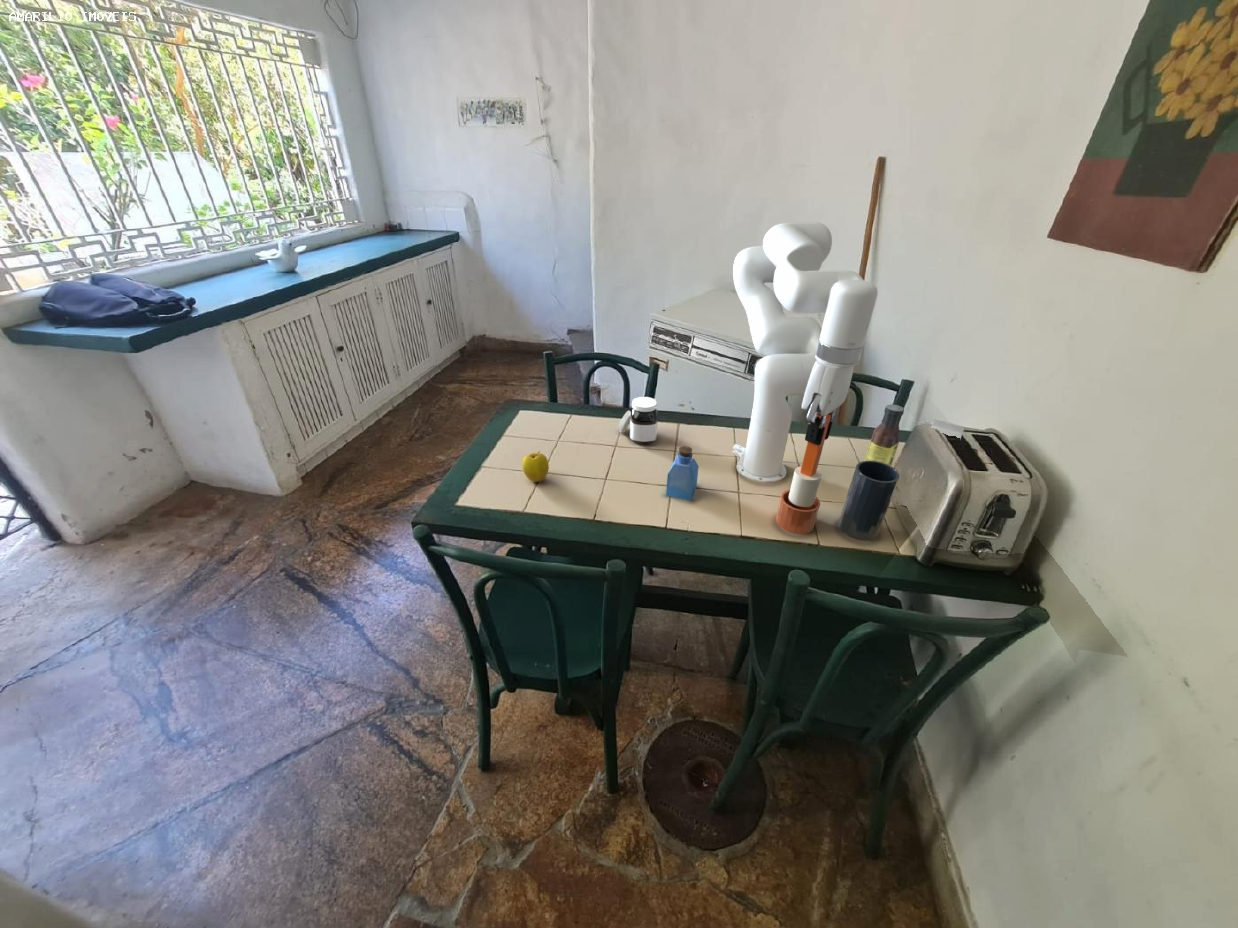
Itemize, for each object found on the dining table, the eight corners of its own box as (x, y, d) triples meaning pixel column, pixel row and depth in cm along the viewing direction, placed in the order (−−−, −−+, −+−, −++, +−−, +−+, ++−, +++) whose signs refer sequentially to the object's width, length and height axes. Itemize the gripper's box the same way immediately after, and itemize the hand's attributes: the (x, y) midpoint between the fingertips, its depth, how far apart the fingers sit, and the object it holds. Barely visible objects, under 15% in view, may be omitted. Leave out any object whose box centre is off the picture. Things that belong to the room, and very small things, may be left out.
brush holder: (768, 524, 115) (774, 499, 111) (786, 508, 120) (792, 484, 116) (802, 541, 110) (809, 516, 106) (819, 524, 115) (826, 499, 111)
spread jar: (657, 447, 143) (659, 410, 136) (616, 447, 143) (617, 409, 136) (655, 427, 153) (657, 391, 146) (617, 426, 153) (617, 390, 146)
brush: (783, 499, 111) (803, 415, 100) (795, 489, 114) (816, 406, 103) (806, 510, 108) (829, 424, 97) (818, 499, 111) (842, 415, 100)
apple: (554, 476, 130) (552, 449, 126) (540, 489, 125) (538, 461, 121) (533, 469, 132) (530, 443, 128) (518, 482, 127) (515, 455, 123)
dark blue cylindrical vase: (831, 530, 113) (849, 471, 105) (846, 514, 118) (865, 456, 110) (867, 548, 109) (890, 487, 100) (882, 531, 114) (905, 471, 105)
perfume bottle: (696, 486, 127) (701, 445, 120) (691, 501, 122) (695, 458, 115) (672, 482, 129) (675, 440, 122) (665, 495, 124) (669, 453, 117)
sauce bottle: (888, 486, 128) (914, 415, 118) (862, 483, 129) (885, 413, 119) (882, 472, 134) (906, 403, 123) (857, 469, 135) (879, 401, 124)
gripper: (837, 337, 100) (817, 420, 110) (798, 357, 90) (779, 447, 100) (876, 346, 96) (851, 432, 106) (839, 369, 86) (815, 461, 96)
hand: (816, 439), depth 103 cm, fingers closed on brush, 2 cm apart
